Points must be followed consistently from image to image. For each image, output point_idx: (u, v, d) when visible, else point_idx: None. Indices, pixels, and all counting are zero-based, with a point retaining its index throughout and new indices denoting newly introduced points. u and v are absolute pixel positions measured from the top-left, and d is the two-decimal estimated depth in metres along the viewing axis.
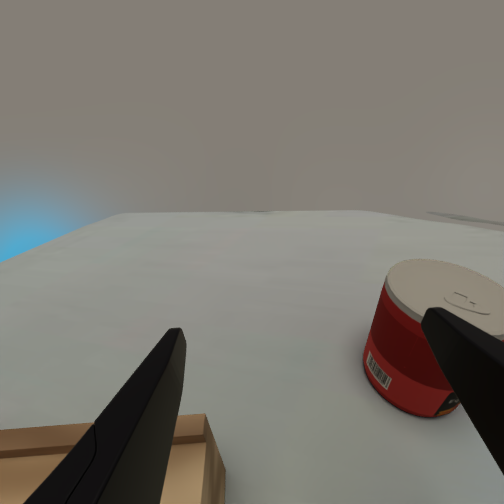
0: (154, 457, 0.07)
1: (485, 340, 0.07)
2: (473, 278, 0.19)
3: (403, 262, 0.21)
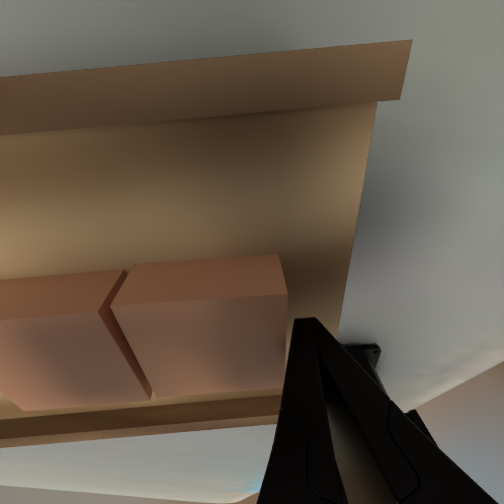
0: None
1: (333, 352, 0.07)
2: None
3: None
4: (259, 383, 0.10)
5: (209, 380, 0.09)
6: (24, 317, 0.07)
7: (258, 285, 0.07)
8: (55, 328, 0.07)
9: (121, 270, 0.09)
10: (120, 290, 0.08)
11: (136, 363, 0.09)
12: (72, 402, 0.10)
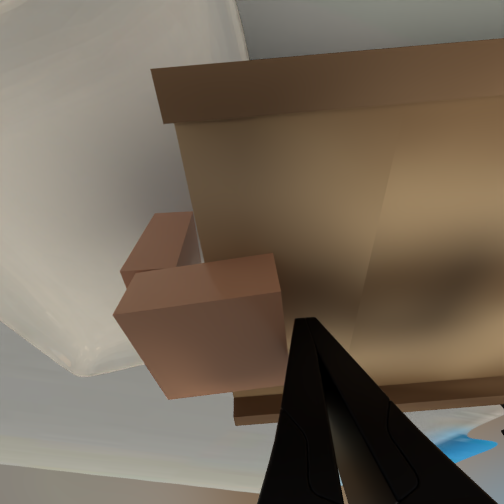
0: None
1: (332, 352, 0.07)
2: None
3: None
4: (265, 381, 0.10)
5: (216, 380, 0.10)
6: (138, 241, 0.11)
7: (252, 284, 0.08)
8: None
9: None
10: (122, 299, 0.08)
11: None
12: None
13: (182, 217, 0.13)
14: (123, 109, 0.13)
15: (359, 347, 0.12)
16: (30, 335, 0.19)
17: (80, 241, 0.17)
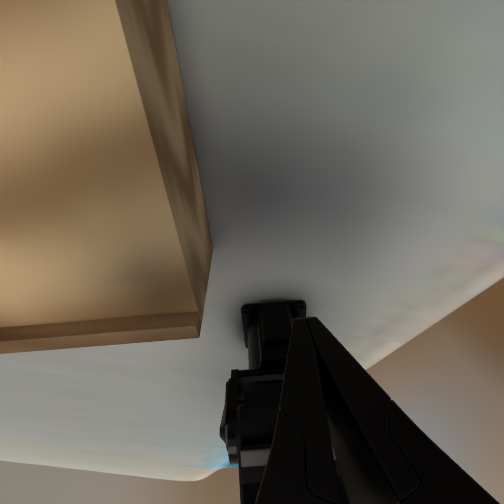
0: None
1: (333, 352, 0.07)
2: None
3: None
4: None
5: None
6: None
7: None
8: None
9: None
10: None
11: None
12: None
13: None
14: None
15: None
16: None
17: None
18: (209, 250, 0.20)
